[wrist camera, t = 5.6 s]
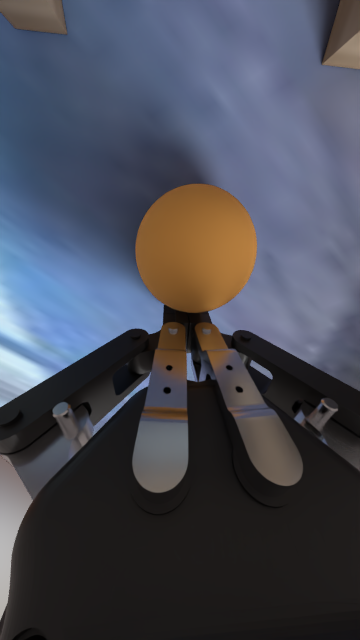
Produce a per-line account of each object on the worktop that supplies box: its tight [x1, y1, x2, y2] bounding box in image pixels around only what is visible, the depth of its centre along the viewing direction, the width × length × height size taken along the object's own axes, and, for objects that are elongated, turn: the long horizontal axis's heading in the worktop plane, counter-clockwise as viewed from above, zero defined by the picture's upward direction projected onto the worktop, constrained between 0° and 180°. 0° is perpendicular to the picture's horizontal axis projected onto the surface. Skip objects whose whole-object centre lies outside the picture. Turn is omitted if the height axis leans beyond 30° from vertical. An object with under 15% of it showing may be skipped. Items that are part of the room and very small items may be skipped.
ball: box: [135, 184, 257, 313], centre depth 10 cm, size 6×6×6 cm
